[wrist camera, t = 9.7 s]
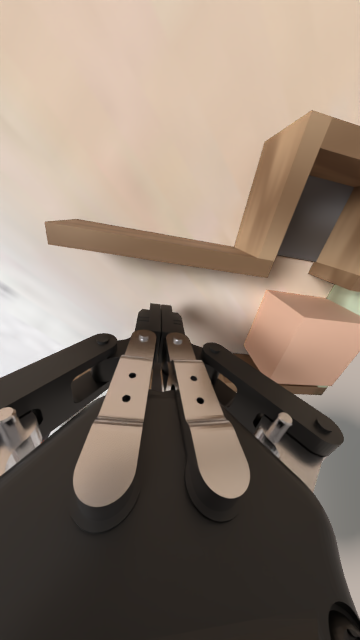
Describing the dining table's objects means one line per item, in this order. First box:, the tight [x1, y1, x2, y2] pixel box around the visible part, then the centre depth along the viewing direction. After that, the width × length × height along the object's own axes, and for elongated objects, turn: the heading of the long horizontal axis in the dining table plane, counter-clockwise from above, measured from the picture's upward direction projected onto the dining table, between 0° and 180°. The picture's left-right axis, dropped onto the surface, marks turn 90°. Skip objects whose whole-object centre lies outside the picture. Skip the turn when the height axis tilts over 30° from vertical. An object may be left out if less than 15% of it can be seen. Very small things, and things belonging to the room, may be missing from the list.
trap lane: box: [45, 110, 360, 395], centre depth 15 cm, size 23×22×4 cm
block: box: [244, 290, 360, 386], centre depth 16 cm, size 6×6×5 cm
